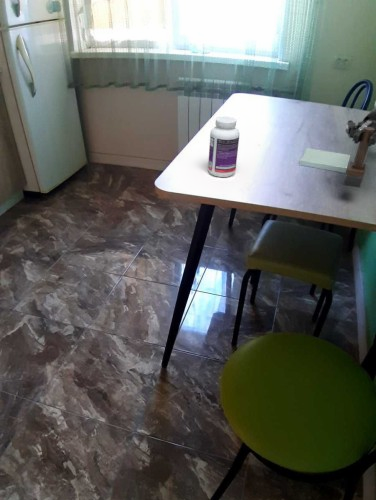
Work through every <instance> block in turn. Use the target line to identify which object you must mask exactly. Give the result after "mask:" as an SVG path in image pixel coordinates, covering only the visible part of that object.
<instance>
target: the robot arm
mask: <svg viewBox="0 0 376 500" xmlns="http://www.w3.org/2000/svg"><path fill="white" fill-rule="evenodd" d="M364 127H372V128H374V129H375V130H374V133H373V134H372V135H371V137H370V139H369V142H368V146H369V148H370V147H372V146H375V145H376V100H375V102H374V104H373V106H372V110H371V111H370V112H369V113H368V114H367V115H366V116H365V117H364V118H363V119H362V121H359V122H358V123H356V122H355V121H353V120H352V119H349V120H348V121H347V124H346V127H345V133H346V135H347V136H348V138H350V139H352V142H353V144H356V145H358V144H359V141H360V138H361V134H362V131H363V128H364Z"/></svg>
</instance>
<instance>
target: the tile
mask: <svg viewBox="0 0 376 500" xmlns="http://www.w3.org/2000/svg"><path fill="white" fill-rule="evenodd" d="M350 159H351V154H345V153H339V152H333V151H328V150H321V149H316V148H310V147H306V148H305V151H304V152H303V154H302V156H301V158H300V161H299V166H303V167H308V168H314V169H320V170H326V171H332V172H338V173H343V174H347V171H348V167H349V164H350Z"/></svg>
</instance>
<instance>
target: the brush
mask: <svg viewBox="0 0 376 500" xmlns="http://www.w3.org/2000/svg"><path fill="white" fill-rule="evenodd" d="M374 130H375V129H374V128H372V127H364V128H363V131H362V134H361V138H360V141H359V142H358V143H357V148H356V151H355V154H354V158H353V161H351V160H349V163H348V166H347V170H346V173H345V178H344V181H343V186H348V187H353V188H359V189H360V188H361V185H362V181H363V180H364V179H363V178H364V176H365V172H366V167H367V163H365V161H366V159H367V155H368V152H369V149H370V146H368V142H369V139H370V137H371V135H372V134H373V133H374Z"/></svg>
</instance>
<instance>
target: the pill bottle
mask: <svg viewBox="0 0 376 500" xmlns="http://www.w3.org/2000/svg"><path fill="white" fill-rule="evenodd" d="M236 126H237V119H236V118H234V117H231V116H218V117H216V118H215V126H214V127H212V129H211V130H210V133H209V149H208V163H207V164H208V165H207V170H208V173H209V174H210V175H212V176H215V177H218V178H228V177H231V176H233V175H234V174H235V173H236V171H237V163H238V162H237V161H238V152H239V144H240V143H239V142H240V131H239V130H238V128H237V127H236Z"/></svg>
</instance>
